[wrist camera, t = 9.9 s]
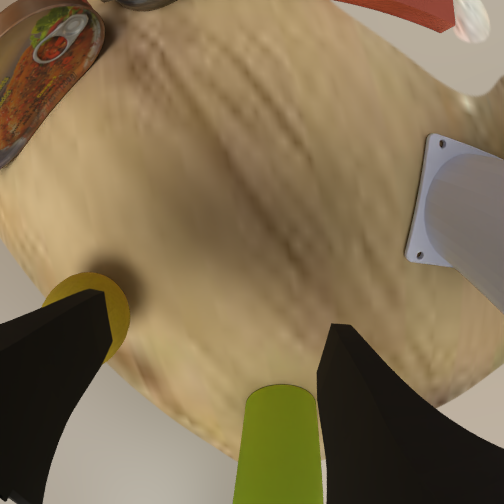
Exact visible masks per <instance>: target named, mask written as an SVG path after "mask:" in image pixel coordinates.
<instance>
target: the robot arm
mask: <svg viewBox="0 0 504 504" xmlns="http://www.w3.org/2000/svg"><path fill="white" fill-rule="evenodd" d="M440 140H442V142H443V147H440V145H439V142H440ZM419 252H421V255H420V256H419V257H417V254H418V253H419ZM405 257H406V258H407V260H408V261H410V262H415V263H423V264H431V265H438V266H446V267H453V268H455V269H456V270H457V271H459V272H460V273H461V274H462V275H463V276H464V277H465V278H466V279H467V280H469V281H470V282H471V283H472V284H473V285H474V286H475V287H476V288H477V289H478V290H479V291H480V292H481V293H482V294H483V295H484V296H485V297H487V298H488V299H489V300H490V301H491V302H492V303H493V304H494V305H495V306H496V307H497V308H498V309H499V310H500V311H501V312H502V313H503V314H504V160H503V159H501V158H499V157H497V156H494V155H492V154H490V153H487V152H485V151H482V150H480V149H478V148H475V147H472V146H470V145H467V144H465V143H462V142H459V141H456V140H454V139H451V138H448V137H445V136H442V135H439V134H434V133H431V134H429V135H428V137H427V140H426V148H425V156H424V162H423V169H422V175H421V181H420V186H419V192H418V197H417V202H416V207H415V212H414V216H413V221H412V225H411V229H410V234H409V238H408V242H407V246H406V249H405ZM112 342H113V339H112V334H111V328H110V323H109V318H108V312H107V306H106V299H105V293H104V291H99V290H95V289H90V288H89V289H86V290H83V291H80V292H77V293H75V294H72V295H70V296H67V297H65V298H63V299H60V300H58V301H56V302H53V303H51V304H49V305H47V306H44V307H42V308H40V309H37V310H35V311H33V312H30V313H28V314H25V315H23V316H20V317H18V318H15V319H13V320H10V321H8V322H5V323H2V324H0V498H1V499H2V500H3V501H7V499H8V498H10V499H11V500H12V501H14V502H15V503H17V504H42V503H43V497H44V491H45V486H46V481H47V477H48V474H49V470H50V466H51V463H52V459H53V457H54V454H55V451H56V448H57V445H58V442H59V440H60V437H61V435H62V433H63V430H64V428H65V425H66V423H67V421H68V419H69V417H70V415H71V413H72V412H73V410H74V408H75V407H76V405H77V403H78V402H79V400H80V398H81V397H82V395H83V394H84V392H85V391H86V389H87V388H88V386H89V384H90V383H91V381H92V380H93V378H94V376H95V375H96V373H97V372H98V370H99V369H100V367H101V365H102V364H103V362H104V359H105V357H106V355H107V353H108V351H109V349H110V346H111V344H112ZM317 401H318V408H319V415H320V422H321V428H322V435H323V442H324V449H325V456H326V466H327V504H504V449H503V448H501V447H498V446H496V445H494V444H492V443H490V442H488V441H486V440H484V439H482V438H480V437H478V436H476V435H475V434H473V433H471V432H469V431H468V430H466V429H464V428H463V427H461V426H460V425H458V424H457V423H455V422H453V421H452V420H451V419H449V418H448V417H446V416H445V415H443V414H442V413H440V412H439V411H438V410H437V409H435V408H434V407H433V406H432V405H430V404H429V403H428V402H427V401H425V400H424V399H423V398H422V397H421V396H419V395H418V394H417V393H416V392H415V391H414V390H413V389H412V388H410V387H409V386H408V385H407V384H406V383H405V382H404V381H403V380H402V379H401V378H400V377H399V376H398V375H397V374H396V373H395V372H394V371H393V370H392V369H391V368H390V367H389V366H388V365H387V364H386V363H385V362H384V361H383V360H382V358H381V357H380V356H379V355H378V354H377V353H376V352H375V351H374V350H373V349H372V348H371V346H370V345H369V344H368V343H367V342H366V341H365V340H364V339H363V338H362V336H361V335H360V334H359V333H358V332H357V331H356V330H355V329H354V328H353V327H352V326H351V325H346V324H333V323H331V326H330V330H329V333H328V337H327V340H326V344H325V347H324V350H323V354H322V357H321V360H320V363H319V367H318V370H317Z"/></svg>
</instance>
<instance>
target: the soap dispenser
mask: <svg viewBox="0 0 504 504" xmlns="http://www.w3.org/2000/svg"><path fill="white" fill-rule="evenodd" d="M233 504H323V487H322V471H321V457H320V445H319V433H318V422H317V411H316V402H315V399H314V397H313V396H312V395H311V394H310V393H309V392H308V391H306V390H304V389H302V388H299V387H296V386H292V385H272V386H267V387H264V388H261V389H259V390H257V391H255V392H254V393H253V394H251V395H250V397H249V398H248V400H247V402H246V407H245V415H244V423H243V431H242V438H241V446H240V453H239V461H238V469H237V476H236V483H235V491H234V498H233Z"/></svg>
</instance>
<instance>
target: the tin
mask: <svg viewBox="0 0 504 504" xmlns="http://www.w3.org/2000/svg"><path fill="white" fill-rule="evenodd" d="M104 38H105V26H104V23H103V20H102V18H101V17H100V15H99V14H98V13H97V12H96V11H95V10H93V8H92V6H91V5H90V4H89V3H88V1H87V0H18V1H16V2H14V3H13V4H11V5H10V6H8V7H7V8H5V9H4V10H3V11H2V12H0V169H1V168H3V167H4V166H5V165H7V164H8V163H9V162H10V161H11V160H12V159H13V158H14V157H15V156H16V155H17V154H18V153H19V152H20V151H21V150H22V149H23V148H24V146H25V145H26V144H27V142H28V141H29V140H30V138H31V137H32V135H33V134H34V133H35V131H36V130H37V129H38V127H39V126H40V125H41V123H42V122H43V121H44V119H45V118H46V117H47V115H48V114H49V113H50V112H51V110H52V109H53V108H54V107H55V106H56V104H57V103H58V102H59V101H60V100H61V99H62V97H63V96H64V95H65V94H66V93H67V92H68V91H69V89H70V88H71V87H72V86H73V85H74V84H75V83H76V82H77V81H78V80H79V79H80V78H81V77H82V76H83V74H84V73H85V72H86V71H87V70H88V69H89V68H90V66H91V65H92V64H93V62H94V61H95V59H96V57H97V56H98V54H99V52H100V50H101V48H102V45H103V42H104Z"/></svg>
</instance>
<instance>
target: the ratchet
mask: <svg viewBox="0 0 504 504" xmlns="http://www.w3.org/2000/svg"><path fill="white" fill-rule="evenodd" d="M116 1H117V2H118V3H120V4H121V5H123V6H124V7H125V8H128V9H130V10H134V11H150V10H155V9H159V8H162V7H165V6H167V5H169V4H171V3H173V2H175V1H177V0H116ZM334 1H339V2H344V3H348V4H353V5H357V6H361V7H365V8H369V9H373V10H376V11H380V12H383V13H386V14H390V15H393V16H396V17H399V18H402V19H405V20H408V21H410V22H413V23H416V24H419V25H421V26H424V27H426V28H429V29H432V30H434V31H436V32H438V33H442V32H444V31H446V30H447V29H449V28H451V27H453V26H455V16H454V6H453V0H334Z"/></svg>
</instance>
